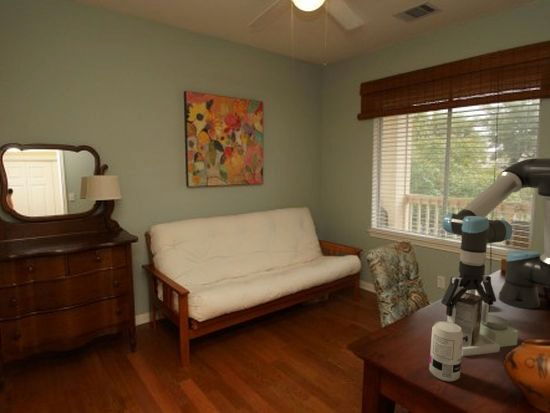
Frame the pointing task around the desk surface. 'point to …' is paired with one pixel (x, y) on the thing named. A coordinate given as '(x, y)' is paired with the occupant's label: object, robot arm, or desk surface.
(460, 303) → the coffee box
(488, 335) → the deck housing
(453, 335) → the supplement can
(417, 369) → the desk surface
